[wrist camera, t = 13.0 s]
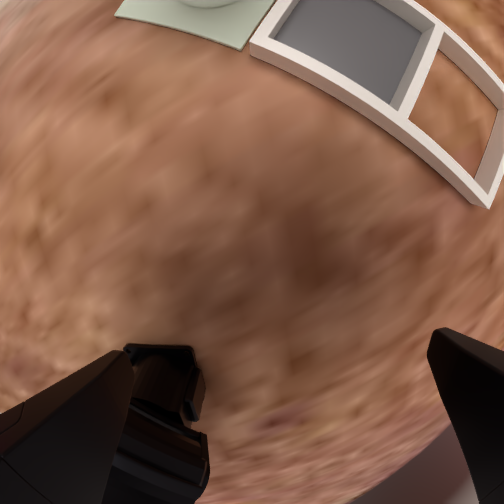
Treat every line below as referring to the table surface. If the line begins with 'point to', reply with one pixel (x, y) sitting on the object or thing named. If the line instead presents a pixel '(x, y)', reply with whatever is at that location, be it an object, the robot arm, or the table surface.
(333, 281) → the table surface
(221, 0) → the shiny metal tumbler
